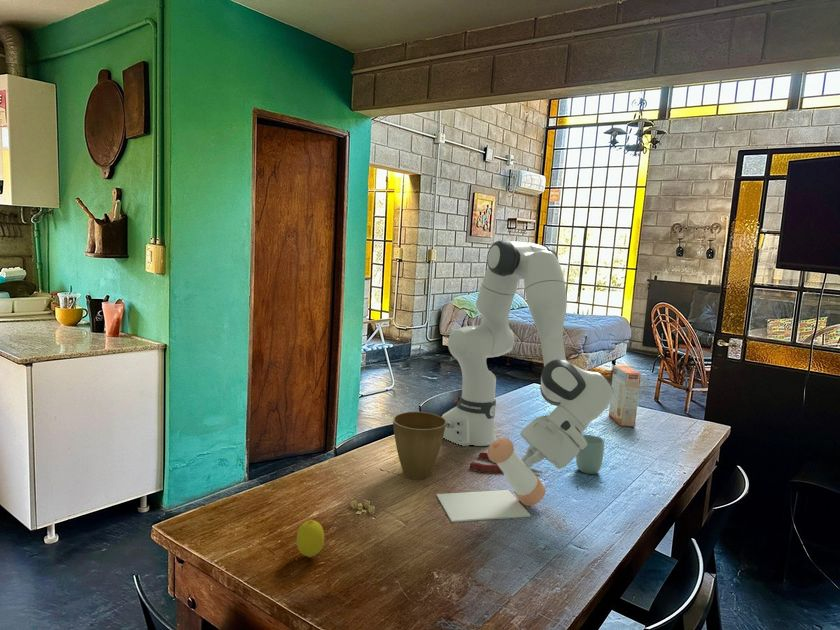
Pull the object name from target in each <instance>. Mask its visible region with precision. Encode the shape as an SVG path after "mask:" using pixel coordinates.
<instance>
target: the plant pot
mask: <svg viewBox="0 0 840 630" xmlns="http://www.w3.org/2000/svg"><path fill="white" fill-rule="evenodd" d="M392 424H393V434H394V435H393V436H394V441H395V446H396V453H397V456H398V459H399V463H400V466H401V469H402V472H403V476H405V477H407V478H409V479H412V478H413V480H423V478H424V479H426V478H428V477H429V476H430V475H431V473H432V470H433V468H434V465H435V463H436V461H437V459H438V455H439V453H440V449H441V446H442V443H443V440H444V439H443V435H444V431H445V426H446V420H445V419H444V418H442V416H440V415H438V414H435V413H431V412H425V411H406V412H405V411H404V412H401V413H397V414H396V415H394V416H393V418H392Z"/></svg>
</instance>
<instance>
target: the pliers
mask: <svg viewBox="0 0 840 630" xmlns="http://www.w3.org/2000/svg"><path fill="white" fill-rule="evenodd" d="M478 458H479V459H480V458H482V459H481V460H485V459H487V460H486V461H490V460H489V457H488V452H484V451H483V452H482V451H481V452H480V453H479V454H478ZM469 469H470V470H471V469H472V470H471V471H475V470H476V472H479V471H480V473H485V474H486V473H487V474H488V473H489V474H504V473H503V472H502V470H501V469H500V467H499V466H498V465H497V464H486V463H478V462H476V461H472V462H470V464H469ZM530 469H531V471H532V472H533V474H534V475H536V476H537V477H538V478H539V477H541V475H540V474H542V473H543V471H542V470H538V469H534V468H532V467H530Z"/></svg>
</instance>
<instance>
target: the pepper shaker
mask: <svg viewBox="0 0 840 630" xmlns="http://www.w3.org/2000/svg"><path fill="white" fill-rule="evenodd" d="M514 446H515V445H514V443H513V442H512V440H510V439H509V438H506V437H500V438H497V440H495V441H494V442H492V443H491V444H490V445H488V448H487V453H488V457H489V460H488V461H490V460H491V461H490V462H492V463H494V464H496V465H498V466H499V467H500V469H501V470H502V472H503V473H502V474H504V476H505V479H506V481H507V483H508V485H509V486H510V487H511V488H512V490H513V491H514V492H513V493H514V494H515V497H516V498H517V500H518V501H520V504H521V505H522V506H523V505H524V506H525V507H531V506H535V505H537V504H539V503H540V502H541V501H542V500H543V499H544V498H545V496H546V490H547V489H546V487H545V485H544V484H543V482H542V481H541V479H540V478H539V476H536V475H534V474H533V472H532V471H531V469H530V468H531V467H530V468H529V467H528V466H527V465H526V464H525V463H524V462H523V461H522V460H521V459H522V458H520V456H519V455H518V454H517V452H516V451H515V448H514Z"/></svg>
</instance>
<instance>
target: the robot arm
mask: <svg viewBox="0 0 840 630" xmlns="http://www.w3.org/2000/svg"><path fill="white" fill-rule="evenodd" d="M486 262H487V263H486V264H487V266H488V267H487V268H486V271H485V273H484V276H483V279H482V281H481V286H480V288H479V293H478V295H477V298H476V301H475V302H476V303H475V308H476V309H477V311H478V313H479V314H480V315H481V322H480V324H479V325H466V326H462V327H459V328H457V329H456V328H455V329H454V330H452V331H451V332H450V334H449V336H448V339H447V340H448V341H447V347H448V351H449V352H450V354H451V355H452V357H453V358H454V359H456V361H457V362H458V364H459V367H460V370H461V374H462V379H461V380H462V383H461V384H462V388H461V396H458V397H456V398H454V403H457V404H456V406H454V407H453V408H450V410H448V411H446V412H445V413H443V414H442V416H441V417H442V418H444V419H445V420H446V426H445V431H444V435H443V438H445V439H444V440H446V439H447V441H448V440H449V442H450V441H451V443H453V442H454V443H453V444H455V443H456V445H458V444H459V445H458V446H460V445H462V447H470V446H469V445H474V446H475V447H484V446H490V444H491V443H492V442H494V441H495V440H497V439H498V438H497V435H496V426H495V416H496V407H497V405H496V403H497V400H496V384H497V377H496V375H495V373H493V372H492V371H491V370H489V368H488V364H487V359H488V358H495V357H501V356H503V355H506V354H508V353H510V352H511V351H512V350H513V349H514V346H515V341H516V339H515V335H514V332H513V330H512V329H511V328H510V323H509V319H510V317H509V316H510V312H511V308H512V305H513V301H514V298H515V295H516V291H517V287H518V284H519V281H520V280H523V282H524V292H525V293H524V294H525V297H526V302H527V305H528V309H529V312H530V314H531V317H532V320H533V323H534V326H535V327H536V330H537V333H538V337H539V340H540V348H541V354H542V362H543V368H542V370H541V375H540V386H539V387H540V388H539V389H540V393H541V396H542V398H543V399H544V400H545V401H546V402H547V403H548V404H550V405H552V406H556V407H555V408H554V409H553V410H552V411H551V412H550V413H549V414H548V415H547V414H546V415H541V416H539V417H536V418H534V419H533V420H532V421H530V422H529V423H528V424H527V425H526V426H524V427H523V429H522V430H521V431H520V434H519V435H520V437H521V438H522V439H523V440H524V441H525V442H526V443H527V444H528V445H529V446H528V448H527V449H526V451H525V454H524V456H522V458H520V459H521V460H522V461H523V462H524V463H525V464H526V465H527V466H528V467H529V468H532V467H533V466H534V465H535V464H538V463H540V462H542V461H543V460H544V459H545V460H547V461H549V463H551V464H552V465H553V466H554V467H555V468H556V469H558V470H561V469H563V468H566V467H567V466H568V465H569V464H570V463H571V462H572V461H573V460H574V459H576V456H577V454H578V453H579V448H580V449H584V448H585V447H586V446H587V442H586V440H585V438H584V436H583V435H584V434H583V433H584V432H585V431H586V429H587V428H588V425H590V423H591V422H592V421H594V420H596V419H598V418H599V417H600V415H602V413H603V412H604V411H605V410H606V409H607V408H608V407H609V406H610V403H611V401H612V399H613V397H614V391H613V388H612V383H611V382H610V381H608V379H607V377H606V376H605V375H603V374H602V373H600V372H598V371H590V370H586V369H584V368H581V367H578V366H576V365H575V364H573V363H571V362H570V361H567V358H566V351H565V345H564V334H563V333H564V324H565V319H566V314H567V307H568V305H567V300H568V297H567V288H566V281H565V277H564V274H563V269H562V267H561V265H560V261H559V257H558V253H557V252H556V251H555V249H553V248H551V247H550V246H547V245H543V244H542V245H541V244H538V243H534V242H529V241H512V240H508V239H507V240H505V239H503V240H497V241H494V243H492V245H491V246H490V247H489V249H488V251H487V256H486ZM474 446H473V447H474Z"/></svg>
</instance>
